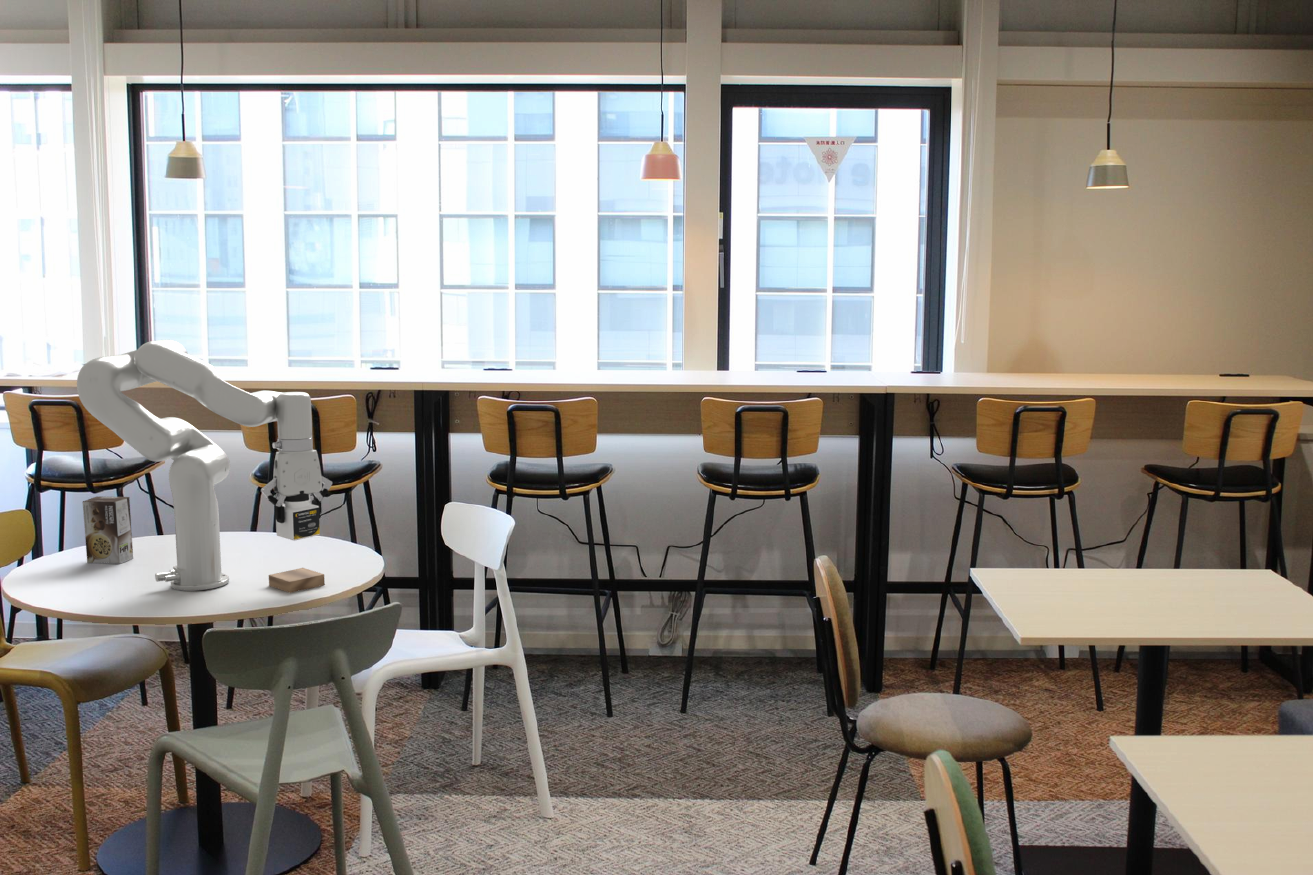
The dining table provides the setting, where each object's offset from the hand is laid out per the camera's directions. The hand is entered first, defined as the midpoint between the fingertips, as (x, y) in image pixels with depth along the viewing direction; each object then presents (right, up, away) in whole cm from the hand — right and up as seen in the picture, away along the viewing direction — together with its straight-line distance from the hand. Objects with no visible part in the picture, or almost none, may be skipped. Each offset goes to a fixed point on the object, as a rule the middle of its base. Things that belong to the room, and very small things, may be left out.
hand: (298, 519), depth 252 cm
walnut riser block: (-1, -16, +2) cm, 16 cm away
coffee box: (-55, -12, +23) cm, 61 cm away
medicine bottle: (0, -4, +1) cm, 4 cm away
